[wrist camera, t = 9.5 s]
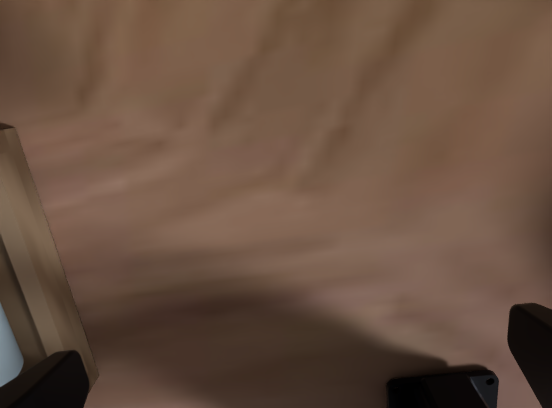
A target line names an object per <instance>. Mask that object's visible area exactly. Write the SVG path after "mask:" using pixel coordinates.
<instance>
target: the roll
mask: <svg viewBox="0 0 552 408" xmlns="http://www.w3.org/2000/svg"><path fill="white" fill-rule="evenodd" d="M23 363H24V359H23V356H22V354H21V351H20V349H19V346H18V344H17V342H16V339H15V337H14V334H13V332H12V329H11V327H10V325H9V322H8V320H7V317H6V315H5V312H4V310H3V308H2V305H1V303H0V387H1V386H3V385H4V384H6V383H7V382H9V381H11V380H12V379H14V378H15V377H17V376H18V374H19V373H20V371H21V369H22V367H23Z"/></svg>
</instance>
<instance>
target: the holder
mask: <svg viewBox="0 0 552 408" xmlns="http://www.w3.org/2000/svg"><path fill="white" fill-rule="evenodd" d="M0 303H1V305H2V308H3V310H4V312H5V315H6V317H7V320H8V322H9V325H10V327H11V329H12V332H13V334H14V337H15V339H16V342H17V344H18V346H19V349H20V351H21V354H22V356H23V359H24V363H23V367H22V369H21V371H20V373H19V374H18V375H20V374H22V373H23V372H25V371H26V370H28V369H29V368H31V367H33V366H34V365H36V364H37V363H39V362H40V361H42V360H44V359H45V358H47V357H48V356H50V355H51V354H53V353H55V352H58V351H65V350H76V351H78V352H79V353H80V355H81V358H82V361H83V364H84V366H85V369H86V372H87V375H88V378H89V383H90V386H89V391H90V390H91V388H92V386H93V385H94V383H95V381H96V380H97V378H98V376H99V374H98V371H97V368H96V365H95V362H94V359H93V356H92V353H91V350H90V347H89V344H88V341H87V338H86V335H85V332H84V329H83V326H82V323H81V321H80V318H79V315H78V312H77V309H76V306H75V303H74V300H73V297H72V294H71V291H70V288H69V285H68V282H67V279H66V276H65V273H64V270H63V267H62V265H61V262H60V259H59V256H58V253H57V250H56V247H55V244H54V241H53V238H52V235H51V232H50V229H49V226H48V223H47V220H46V217H45V214H44V211H43V209H42V206H41V203H40V200H39V197H38V194H37V191H36V188H35V185H34V182H33V179H32V176H31V173H30V170H29V167H28V164H27V161H26V158H25V155H24V152H23V150H22V147H21V144H20V141H19V138H18V135H17V132H16V129H15V128H7V129H0ZM88 393H89V392H88Z"/></svg>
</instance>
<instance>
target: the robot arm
mask: <svg viewBox="0 0 552 408" xmlns="http://www.w3.org/2000/svg"><path fill="white" fill-rule="evenodd" d="M507 340H508V346H509V349H510V351H511V353H512V355H513V356H514V358H515V360H516V362H517V363H518V365H519V367H520V369H521V371H522V372H523V374H524V376H525V378H526V379H527V381H528V383H529V385H530V386H531V388H532V390H533V392H534V394H535V395H536V397H537V399H538V401H539V402H540V404H541V406H542V408H552V310H551V309H549V308H546V307H544V306H541V305H539V304H536V303H524V304H515V305H513V306H512V307H511V309H510V313H509V324H508V336H507ZM489 378H490V379H489ZM487 379H488V380H487ZM498 383H499V380H498V377H497V376H496V375H495V373H494V372H493V371H491V370H482V371H471V372H461V373H450V374H440V375H430V376H419V377H409V378H398V379H392V380H390V381H388V383H387V385H386V391H387V408H497V396H498ZM89 386H90V383H89V378H88V375H87V372H86V369H85V366H84V364H83V361H82V358H81V355H80V353H79V352H78V351H76V350H65V351H58V352H55V353H53V354H51V355H50V356H48V357H47V358H45V359H44V360H42V361H40V362H39V363H37V364H36V365H34V366H33V367H31V368H29V369H28V370H26V371H25V372H23V373H22V374H20V375H18V376H17V377H15V378H14V379H12V380H11V381H9V382H7V383H6V384H4V385H3V386H1V387H0V408H83V407H84V404H85V402H86V399H87V396H88V392H89ZM395 387H398V388H396V389H394V388H395Z"/></svg>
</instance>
